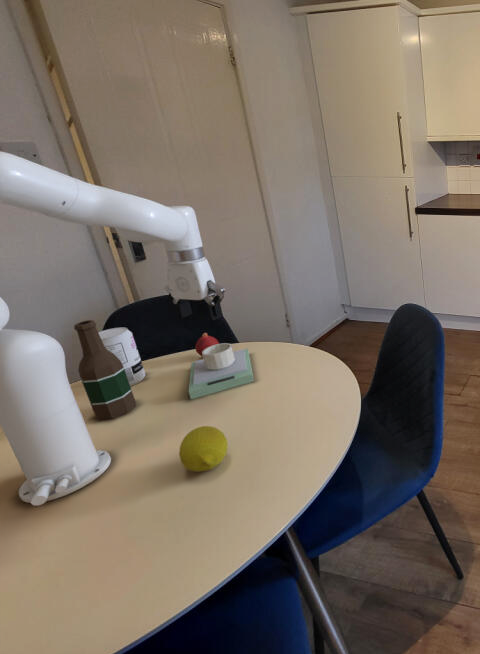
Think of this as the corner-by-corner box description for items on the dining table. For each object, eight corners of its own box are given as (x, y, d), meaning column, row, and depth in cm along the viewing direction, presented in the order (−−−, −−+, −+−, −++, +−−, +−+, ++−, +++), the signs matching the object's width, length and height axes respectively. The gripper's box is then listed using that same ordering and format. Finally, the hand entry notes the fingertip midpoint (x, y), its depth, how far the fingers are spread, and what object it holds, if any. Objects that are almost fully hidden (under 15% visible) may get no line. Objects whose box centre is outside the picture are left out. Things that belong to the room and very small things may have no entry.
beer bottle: (86, 418, 100) (50, 328, 92) (122, 399, 107) (91, 314, 99) (110, 423, 98) (75, 331, 90) (145, 403, 105) (115, 317, 98)
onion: (209, 362, 124) (203, 338, 122) (193, 361, 125) (187, 337, 123) (226, 353, 130) (220, 330, 127) (210, 351, 131) (204, 328, 128)
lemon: (231, 472, 83) (222, 438, 80) (182, 489, 79) (171, 455, 76) (231, 440, 91) (222, 410, 89) (187, 455, 87) (177, 423, 85)
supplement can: (99, 387, 112) (80, 338, 108) (133, 372, 120) (117, 325, 115) (120, 392, 110) (101, 341, 105) (153, 376, 117) (137, 328, 113)
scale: (253, 381, 114) (251, 372, 113) (190, 399, 106) (187, 389, 105) (249, 355, 128) (247, 346, 127) (193, 369, 121) (190, 360, 120)
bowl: (235, 366, 116) (231, 350, 115) (206, 373, 112) (201, 357, 111) (235, 356, 121) (231, 341, 120) (206, 363, 118) (202, 347, 116)
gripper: (143, 257, 104) (160, 320, 108) (202, 259, 101) (217, 324, 105) (172, 250, 111) (187, 310, 116) (227, 252, 108) (240, 313, 112)
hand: (201, 317), depth 110 cm, fingers open, 9 cm apart
